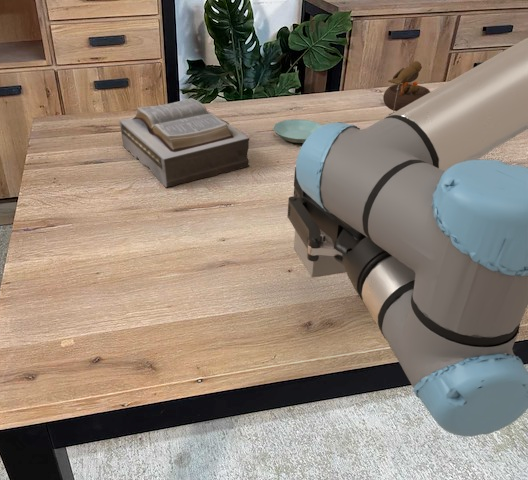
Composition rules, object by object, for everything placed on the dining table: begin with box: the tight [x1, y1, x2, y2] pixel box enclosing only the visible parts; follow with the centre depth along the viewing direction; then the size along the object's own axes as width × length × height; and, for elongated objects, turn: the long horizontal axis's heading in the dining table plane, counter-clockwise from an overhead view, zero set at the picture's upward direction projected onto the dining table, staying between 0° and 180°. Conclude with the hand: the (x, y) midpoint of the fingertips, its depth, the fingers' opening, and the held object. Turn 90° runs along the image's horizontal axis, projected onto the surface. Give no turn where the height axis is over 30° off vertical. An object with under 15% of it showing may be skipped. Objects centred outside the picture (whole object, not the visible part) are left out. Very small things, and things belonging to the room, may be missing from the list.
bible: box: [118, 97, 250, 189], centre depth 113 cm, size 23×27×10 cm
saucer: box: [272, 118, 324, 144], centre depth 122 cm, size 12×12×2 cm
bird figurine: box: [382, 60, 431, 116], centre depth 110 cm, size 15×11×20 cm
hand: (321, 174), depth 70 cm, fingers closed on perfume bottle, 6 cm apart
